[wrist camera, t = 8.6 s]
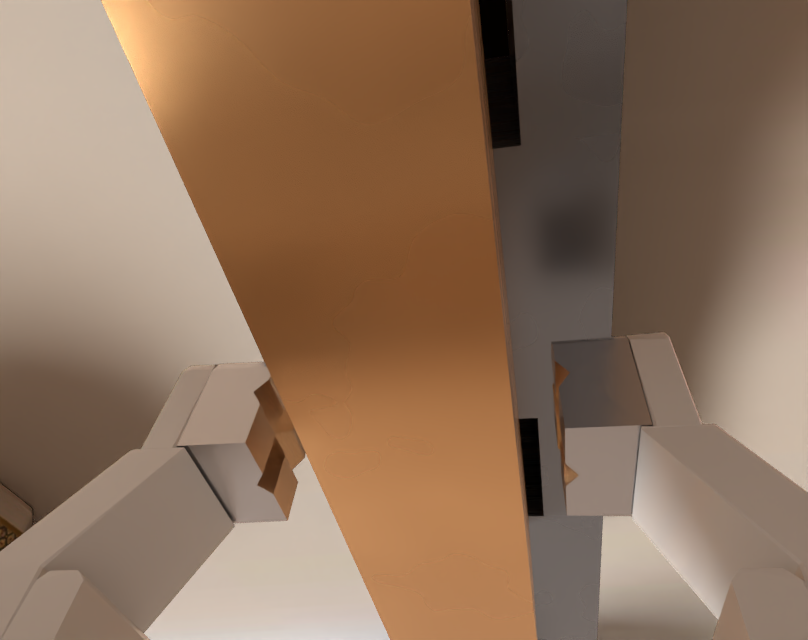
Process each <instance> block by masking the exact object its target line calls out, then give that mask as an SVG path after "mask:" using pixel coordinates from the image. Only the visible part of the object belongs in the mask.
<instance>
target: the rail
mask: <svg viewBox="0 0 808 640" xmlns="http://www.w3.org/2000/svg"><path fill="white" fill-rule="evenodd" d="M506 14H507V28H508V43H509V55H508V56H501V57H495V58H489V59H484V61H485V71H486V82H487V92H488V103H489V113H490V123H491V134H492V144H493V155H494V165H495V175H496V186H497V196H498V207H499V217H500V227H501V238H502V248H503V259H504V269H505V279H506V290H507V300H508V311H509V321H510V331H511V342H512V352H513V362H514V373H515V383H516V394H517V404H518V414H519V425H520V435H521V446H522V456H523V466H524V477H525V487H526V498H527V508H528V518H529V531H530V545H531V558H532V572H533V586H534V600H535V614H536V628H537V640H597V631H598V610H599V588H600V567H601V546H602V525H603V516H569V515H567V513H566V505H565V498H564V491H563V484H562V477H561V458H560V450H559V449H558V445H557V437H556V428H555V420H554V404H553V387H552V384H553V383H554V378H553V370H552V362H551V342H553V341H566V340H578V339H591V338H604V337H611V334H612V313H613V292H614V270H615V249H616V228H617V207H618V186H619V164H620V143H621V122H622V101H623V80H624V58H625V37H626V16H627V0H506Z"/></svg>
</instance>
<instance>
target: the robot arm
mask: <svg viewBox="0 0 808 640" xmlns="http://www.w3.org/2000/svg"><path fill="white" fill-rule="evenodd" d="M551 362H552V370H553V378H554V383H553V384H552V387H553V404H554V420H555V428H556V437H557V445H558V449H559V450H560V458H561V477H562V484H563V491H564V498H565V505H566V513H567V515H569V516H632V520H633V521H634V522H635V523H636V524H637V526H638V527H639V528H640V529H641V530H642V532H643V533H644V534H645V535H646V536H647V537H648V539H649V540H650V541H651V542H652V543H653V544H654V546H655V547H656V548H657V549H658V550H659V551H660V553H661V554H662V555H663V556H664V557H665V558H666V560H667V561H668V562H669V563H670V564H671V565H672V567H673V568H674V569H675V570H676V571H677V573H678V574H679V575H680V576H681V577H682V578H683V580H684V581H685V582H686V583H687V584H688V585H689V587H690V588H691V589H692V590H693V591H694V592H695V594H696V595H697V596H698V597H699V598H700V599H701V601H702V602H703V603H704V604H705V605H706V606H707V608H708V609H709V610H710V611H711V612H712V614H713V615H714V616H715V617H716V618H717V619H718V623H717V626H716V629H715V632H714V635H713V638H712V640H808V492H806V491H805V490H804V489H802V488H801V487H800V486H798V485H797V484H796V483H794V482H793V481H792V480H790V479H789V478H788V477H786V476H785V475H783V474H782V473H781V472H779V471H778V470H777V469H775V468H774V467H773V466H771V465H770V464H769V463H767V462H766V461H765V460H763V459H762V458H760V457H759V456H758V455H756V454H755V453H754V452H752V451H751V450H750V449H748V448H747V447H746V446H744V445H743V444H742V443H740V442H739V441H737V440H736V439H735V438H733V437H732V436H731V435H729V434H728V433H727V432H725V431H724V430H723V429H721V428H720V427H719V426H717V425H716V424H702V422H701V419H700V417H699V414H698V411H697V409H696V406H695V403H694V401H693V398H692V395H691V393H690V390H689V387H688V385H687V382H686V379H685V377H684V374H683V371H682V369H681V366H680V363H679V361H678V358H677V355H676V353H675V350H674V347H673V345H672V342H671V340H670V337H669V336H668V335H667V334H666V333H665V332H658V333H647V334H635V335H626V336H625V337H624V336H617V337H604V338H591V339H578V340H566V341H553V342H551ZM305 453H306V452H305V450H304V448H303V446H302V443H301V441H300V439H299V437H298V434H297V432H296V430H295V428H294V426H293V423H292V421H291V419H290V417H289V415H288V412H287V410H286V408H285V406H284V404H283V401H282V399H281V397H280V395H279V392H278V390H277V388H276V386H275V384H274V381H273V379H272V377H271V375H270V373H269V370H268V368H267V366H266V364H265V362H248V363H227V364H219V365H197V366H190V367H188V368H187V369H185V370H184V371H182V373H181V375H180V377H179V378H178V380H177V382H176V384H175V386H174V388H173V390H172V392H171V393H170V395H169V397H168V399H167V401H166V403H165V405H164V407H163V408H162V410H161V412H160V414H159V416H158V418H157V420H156V422H155V423H154V425H153V427H152V429H151V431H150V433H149V435H148V437H147V438H146V440H145V442H144V444H143V446H142V448H141V449H133V450H130V451H129V452H128V453H126V454H125V455H124V456H123V457H121V458H120V459H119V460H117V461H116V462H115V463H114V464H112V465H111V466H110V467H108V468H107V469H106V470H105V471H103V472H102V473H101V474H99V475H98V476H97V477H96V478H94V479H93V480H92V481H90V482H89V483H88V484H87V485H85V486H84V487H83V488H81V489H80V490H79V491H78V492H76V493H75V494H74V495H72V496H71V497H70V498H69V499H67V500H66V501H65V502H63V503H62V504H61V505H60V506H58V507H57V508H56V509H54V510H53V511H52V512H51V513H49V514H48V515H47V516H45V517H44V518H43V519H42V520H40V521H39V522H38V523H36V524H35V525H34V526H32V527H31V528H30V529H29V530H27V531H26V532H25V533H23V534H22V535H21V536H20V537H18V538H17V539H16V540H14V541H13V542H12V543H11V544H9V545H8V546H7V547H5V548H4V549H3V550H2V551H0V640H150V639H149V638H148V637H147V636H146V635H145V634H144V632H145V631H146V630H147V629H148V628H149V626H150V625H151V624H152V623H153V622H154V621H155V619H156V618H157V617H158V616H159V615H160V614H161V612H162V611H163V610H164V609H165V608H166V606H167V605H168V604H169V603H170V602H171V601H172V599H173V598H174V597H175V596H176V595H177V594H178V592H179V591H180V590H181V589H182V588H183V587H184V585H185V584H186V583H187V582H188V581H189V579H190V578H191V577H192V576H193V575H194V574H195V572H196V571H197V570H198V569H199V568H200V567H201V565H202V564H203V563H204V562H205V561H206V560H207V558H208V557H209V556H210V555H211V554H212V552H213V551H214V550H215V549H216V548H217V547H218V545H219V544H220V543H221V542H222V541H223V540H224V538H225V537H226V536H227V535H228V534H229V533H230V531H231V530H232V529H233V528H234V524H233V523H249V522H270V521H287V520H288V517H289V513H290V509H291V506H292V502H293V498H294V495H295V491H296V488H297V484H298V481H297V479H296V477H295V475H294V473H293V471H292V469H293V468H294V467H296V466H297V465H298V464H299V463H300V462H301V461H302V460H303V459H304V458H305Z"/></svg>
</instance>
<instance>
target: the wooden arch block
mask: <svg viewBox="0 0 808 640" xmlns="http://www.w3.org/2000/svg"><path fill="white" fill-rule="evenodd" d="M101 1H102V3H103V6H104V8H105V10H106V12H107V14H108V17H109V19H110V21H111V23H112V26H113V28H114V30H115V32H116V34H117V37H118V39H119V41H120V43H121V45H122V48H123V50H124V52H125V54H126V56H127V59H128V61H129V63H130V65H131V68H132V70H133V72H134V74H135V76H136V79H137V81H138V83H139V85H140V87H141V90H142V92H143V94H144V96H145V98H146V101H147V103H148V105H149V107H150V110H151V112H152V114H153V116H154V118H155V121H156V123H157V125H158V127H159V129H160V132H161V134H162V136H163V138H164V140H165V143H166V145H167V147H168V149H169V152H170V154H171V156H172V158H173V160H174V163H175V165H176V167H177V169H178V171H179V174H180V176H181V178H182V180H183V182H184V185H185V187H186V189H187V191H188V194H189V196H190V198H191V200H192V202H193V205H194V207H195V209H196V211H197V213H198V216H199V218H200V220H201V222H202V224H203V227H204V229H205V231H206V233H207V236H208V238H209V240H210V242H211V244H212V247H213V249H214V251H215V253H216V255H217V258H218V260H219V262H220V264H221V266H222V269H223V271H224V273H225V275H226V278H227V280H228V282H229V284H230V286H231V289H232V291H233V293H234V295H235V297H236V300H237V302H238V304H239V306H240V308H241V311H242V313H243V315H244V317H245V320H246V322H247V324H248V326H249V328H250V331H251V333H252V335H253V337H254V339H255V342H256V344H257V346H258V348H259V350H260V353H261V355H262V357H263V359H264V362H265V364H266V366H267V368H268V370H269V373H270V375H271V377H272V379H273V381H274V384H275V386H276V388H277V390H278V392H279V395H280V397H281V399H282V401H283V404H284V406H285V408H286V410H287V412H288V415H289V417H290V419H291V421H292V423H293V426H294V428H295V430H296V432H297V434H298V437H299V439H300V441H301V443H302V446H303V448H304V450H305V452H306V454H307V457H308V459H309V461H310V463H311V465H312V468H313V470H314V472H315V474H316V476H317V479H318V481H319V483H320V485H321V488H322V490H323V492H324V494H325V496H326V499H327V501H328V503H329V505H330V507H331V510H332V512H333V514H334V516H335V518H336V521H337V523H338V525H339V527H340V530H341V532H342V534H343V536H344V538H345V541H346V543H347V545H348V547H349V549H350V552H351V554H352V556H353V558H354V560H355V563H356V565H357V567H358V569H359V572H360V574H361V576H362V578H363V580H364V583H365V585H366V587H367V589H368V591H369V594H370V596H371V598H372V600H373V602H374V605H375V607H376V609H377V611H378V614H379V616H380V618H381V620H382V622H383V625H384V627H385V629H386V631H387V633H388V636H389V638H390V640H537V628H536V614H535V600H534V586H533V572H532V558H531V545H530V531H529V518H528V508H527V498H526V487H525V477H524V466H523V456H522V446H521V435H520V425H519V414H518V404H517V394H516V383H515V373H514V362H513V352H512V342H511V331H510V321H509V311H508V300H507V290H506V279H505V269H504V259H503V248H502V238H501V227H500V217H499V207H498V196H497V186H496V175H495V165H494V155H493V144H492V134H491V123H490V113H489V103H488V92H487V82H486V71H485V61H484V51H483V40H482V30H481V20H480V9H479V0H101Z"/></svg>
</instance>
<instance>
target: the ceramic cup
mask: <svg viewBox="0 0 808 640" xmlns="http://www.w3.org/2000/svg"><path fill="white" fill-rule="evenodd" d="M32 514H33V510H32V508H31V507H30V506H29V505H27V504H26V503H25V502H24V501H22V500H21V499H20V498H19V497H17V496H16V495H15V494H13V493H12V492H11V491H10V490H8V489H7V488H6V487H4V486H3V485H2V484H1V483H0V551H2V550H3V549H4V548H5V547H7V546H8V545H9V544H11V543H12V542H13V541H14V540H16V539H17V538H18V537H20V536H21V535H22V534H23V533H25V532H26V531H27V530H29V529H30V528H31V527H32V521H33V520H32Z"/></svg>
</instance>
